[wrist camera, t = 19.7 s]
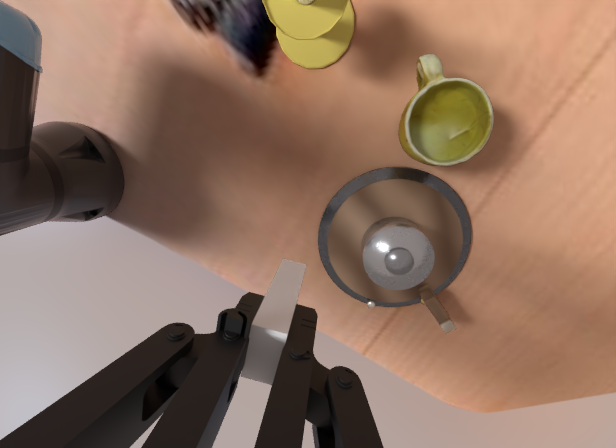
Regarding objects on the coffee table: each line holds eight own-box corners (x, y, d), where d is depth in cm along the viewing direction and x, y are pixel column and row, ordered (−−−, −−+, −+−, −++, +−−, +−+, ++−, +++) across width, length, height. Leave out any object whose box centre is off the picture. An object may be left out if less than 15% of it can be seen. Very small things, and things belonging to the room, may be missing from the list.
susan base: (304, 285, 48) (302, 290, 47) (339, 150, 41) (339, 150, 40) (436, 321, 47) (438, 326, 46) (495, 188, 40) (500, 190, 39)
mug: (488, 164, 38) (499, 158, 29) (405, 174, 42) (392, 172, 33) (483, 65, 37) (493, 27, 28) (399, 86, 41) (384, 60, 32)
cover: (410, 281, 44) (418, 301, 39) (352, 263, 44) (354, 281, 39) (435, 228, 41) (449, 242, 36) (374, 208, 41) (378, 220, 36)
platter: (388, 339, 48) (392, 360, 44) (302, 227, 44) (298, 237, 40) (500, 282, 43) (518, 299, 39) (415, 150, 39) (424, 152, 35)
